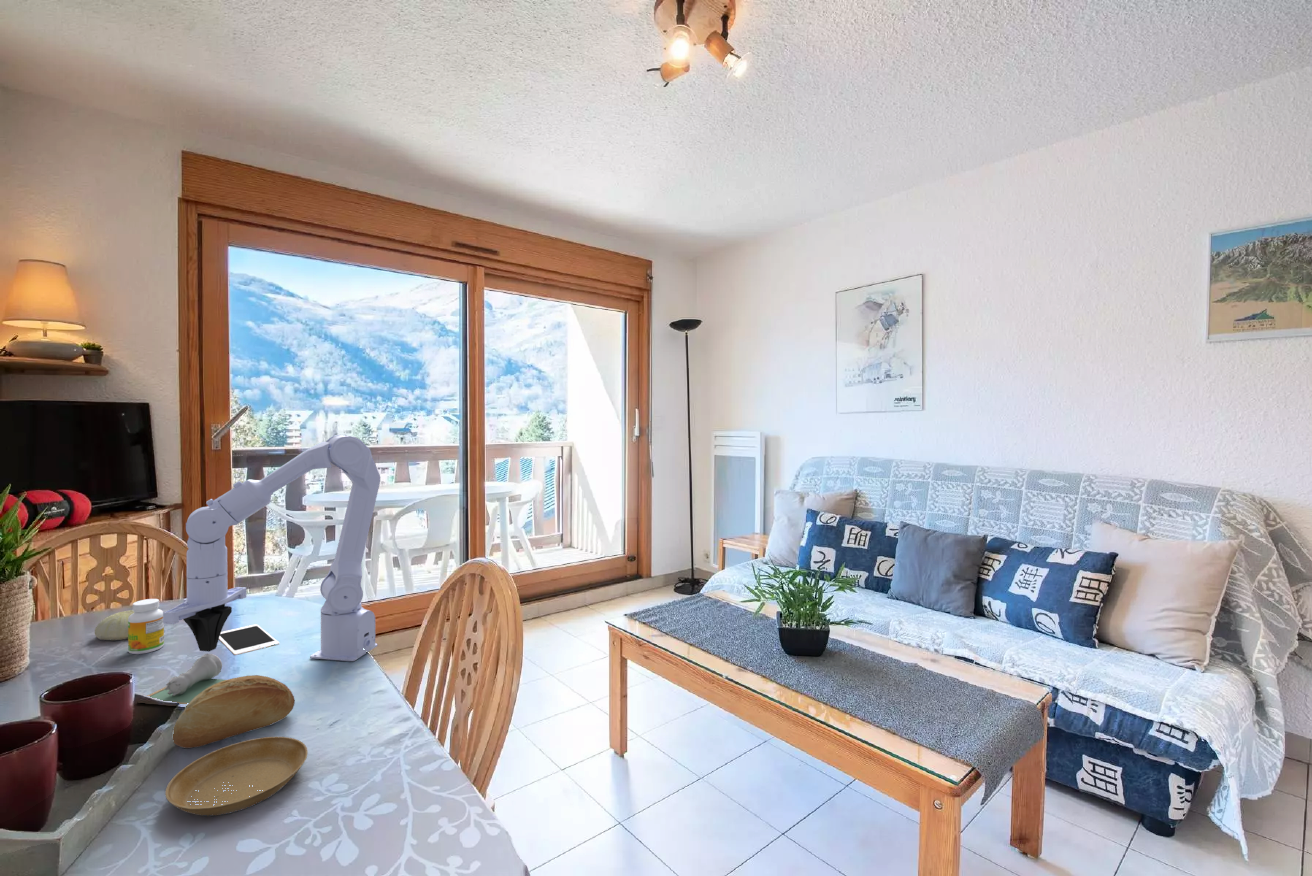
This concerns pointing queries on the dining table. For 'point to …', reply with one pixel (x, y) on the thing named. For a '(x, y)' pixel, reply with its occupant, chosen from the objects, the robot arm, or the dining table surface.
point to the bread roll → (232, 710)
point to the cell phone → (246, 639)
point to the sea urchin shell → (114, 626)
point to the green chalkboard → (188, 694)
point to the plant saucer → (236, 775)
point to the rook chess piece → (195, 674)
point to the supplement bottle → (145, 627)
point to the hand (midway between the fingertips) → (207, 649)
